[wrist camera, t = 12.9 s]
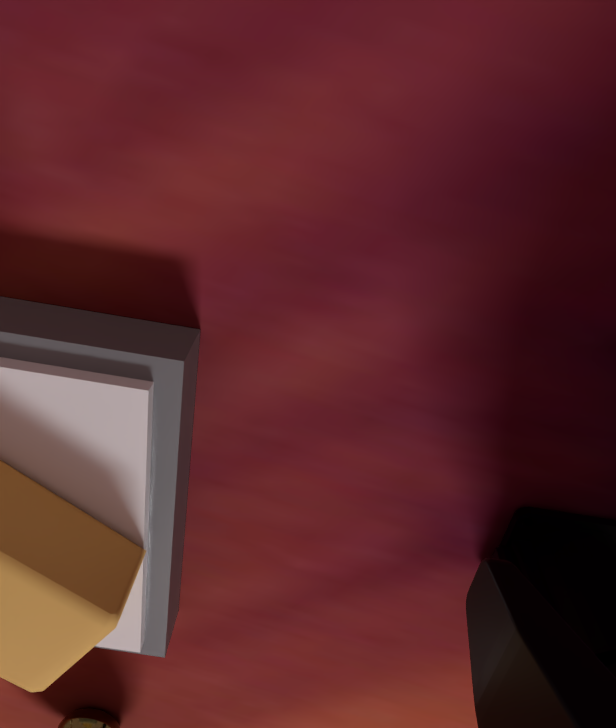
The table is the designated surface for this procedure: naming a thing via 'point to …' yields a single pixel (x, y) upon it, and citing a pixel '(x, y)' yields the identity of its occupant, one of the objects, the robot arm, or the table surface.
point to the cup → (88, 719)
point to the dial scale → (107, 437)
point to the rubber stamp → (55, 581)
